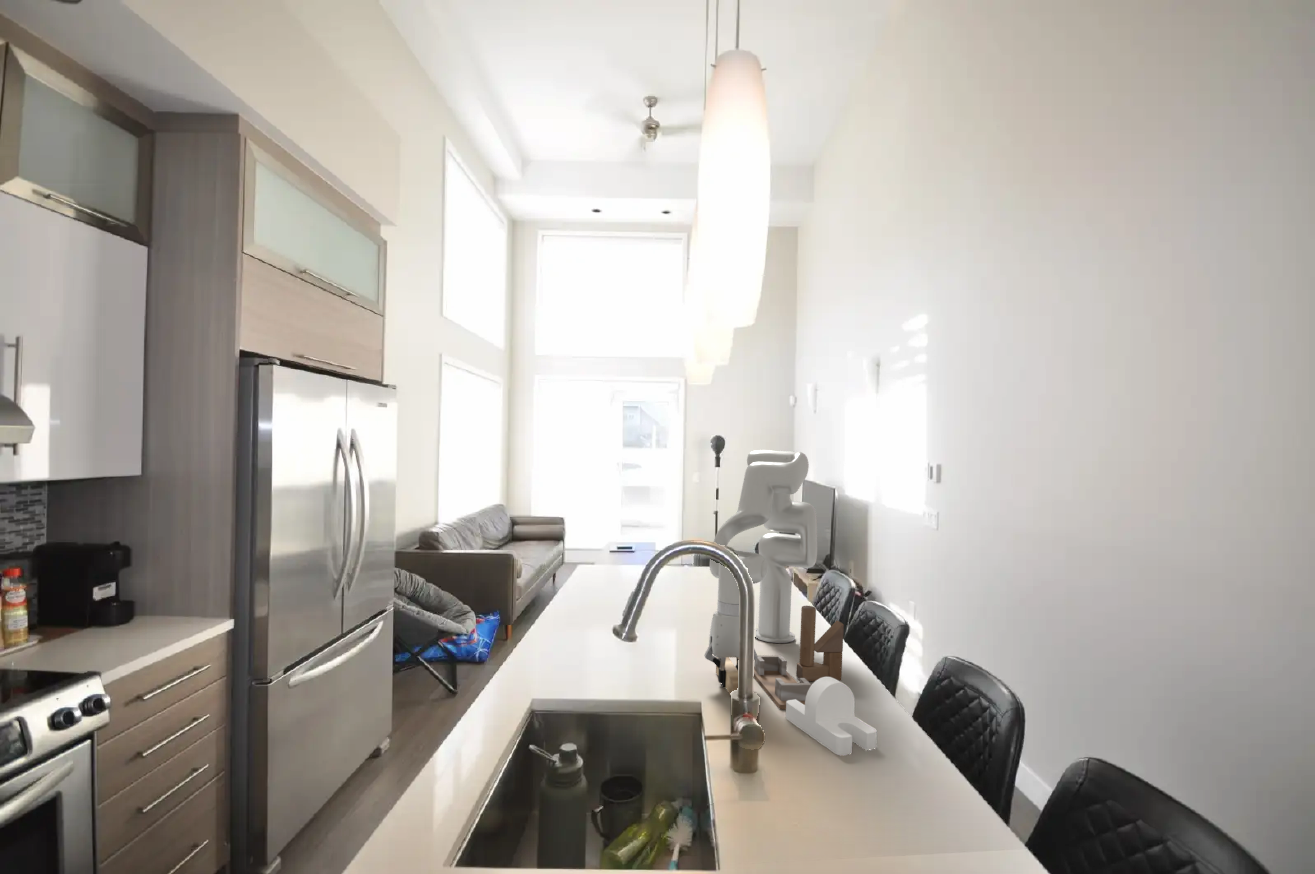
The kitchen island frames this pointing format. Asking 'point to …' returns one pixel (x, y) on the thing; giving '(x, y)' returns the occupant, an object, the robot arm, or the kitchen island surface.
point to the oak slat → (730, 675)
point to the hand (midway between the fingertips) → (729, 684)
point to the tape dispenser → (831, 717)
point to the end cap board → (779, 680)
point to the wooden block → (819, 648)
